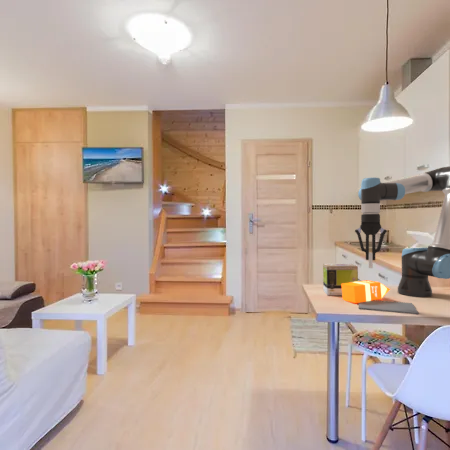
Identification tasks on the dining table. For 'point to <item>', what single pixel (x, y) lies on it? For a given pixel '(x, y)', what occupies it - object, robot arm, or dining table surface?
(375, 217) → the robot arm
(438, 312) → the dining table surface
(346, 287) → the orange juice
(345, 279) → the tea box
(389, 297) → the dining table surface
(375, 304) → the mat
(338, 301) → the dining table surface
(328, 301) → the dining table surface
